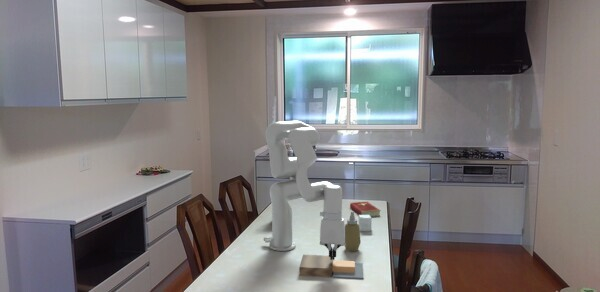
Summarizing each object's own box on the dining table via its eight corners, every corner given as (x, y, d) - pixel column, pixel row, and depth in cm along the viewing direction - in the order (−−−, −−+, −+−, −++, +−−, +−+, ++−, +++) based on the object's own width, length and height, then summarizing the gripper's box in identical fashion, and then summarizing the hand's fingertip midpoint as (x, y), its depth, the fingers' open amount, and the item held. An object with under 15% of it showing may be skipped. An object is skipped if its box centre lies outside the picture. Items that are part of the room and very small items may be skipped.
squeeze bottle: (347, 253, 188) (347, 215, 185) (340, 247, 195) (340, 210, 193) (363, 251, 190) (363, 213, 187) (356, 245, 197) (356, 209, 195)
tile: (332, 271, 167) (332, 266, 166) (332, 265, 173) (332, 260, 172) (354, 272, 166) (354, 267, 165) (354, 266, 172) (354, 261, 171)
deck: (299, 275, 165) (299, 267, 165) (303, 262, 178) (303, 254, 177) (331, 277, 163) (331, 268, 163) (333, 263, 176) (333, 255, 176)
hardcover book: (361, 218, 243) (361, 211, 242) (350, 208, 263) (350, 202, 263) (380, 216, 245) (380, 209, 245) (367, 207, 266) (367, 201, 265)
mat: (332, 277, 163) (332, 276, 163) (334, 263, 177) (334, 262, 177) (363, 279, 161) (363, 277, 161) (362, 264, 175) (362, 263, 175)
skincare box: (369, 227, 224) (369, 214, 223) (371, 231, 218) (371, 217, 217) (358, 227, 224) (358, 214, 223) (360, 231, 218) (360, 217, 217)
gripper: (313, 217, 164) (313, 261, 166) (351, 218, 162) (350, 263, 165) (315, 212, 172) (315, 254, 174) (351, 213, 170) (350, 255, 172)
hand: (332, 258), depth 169 cm, fingers closed
